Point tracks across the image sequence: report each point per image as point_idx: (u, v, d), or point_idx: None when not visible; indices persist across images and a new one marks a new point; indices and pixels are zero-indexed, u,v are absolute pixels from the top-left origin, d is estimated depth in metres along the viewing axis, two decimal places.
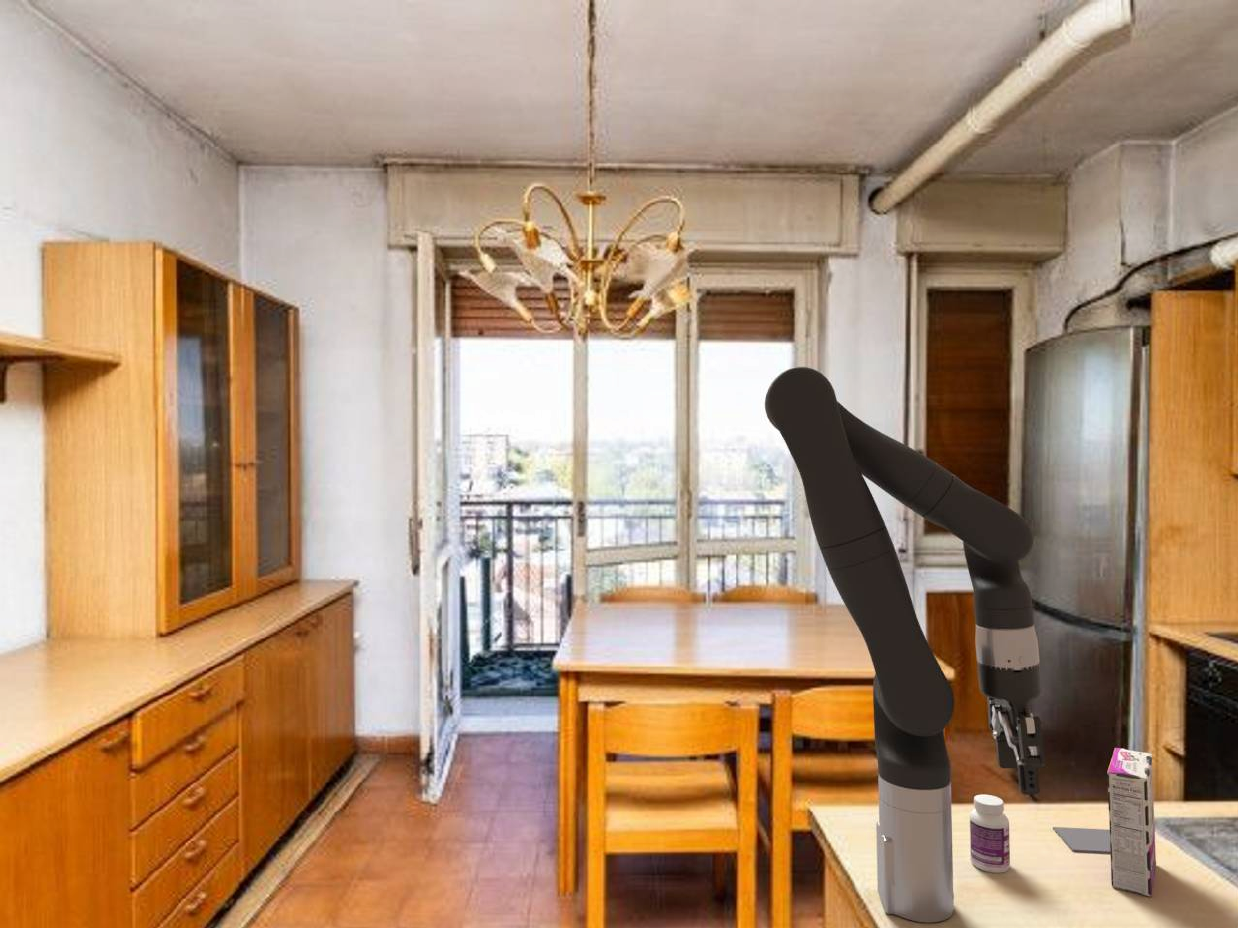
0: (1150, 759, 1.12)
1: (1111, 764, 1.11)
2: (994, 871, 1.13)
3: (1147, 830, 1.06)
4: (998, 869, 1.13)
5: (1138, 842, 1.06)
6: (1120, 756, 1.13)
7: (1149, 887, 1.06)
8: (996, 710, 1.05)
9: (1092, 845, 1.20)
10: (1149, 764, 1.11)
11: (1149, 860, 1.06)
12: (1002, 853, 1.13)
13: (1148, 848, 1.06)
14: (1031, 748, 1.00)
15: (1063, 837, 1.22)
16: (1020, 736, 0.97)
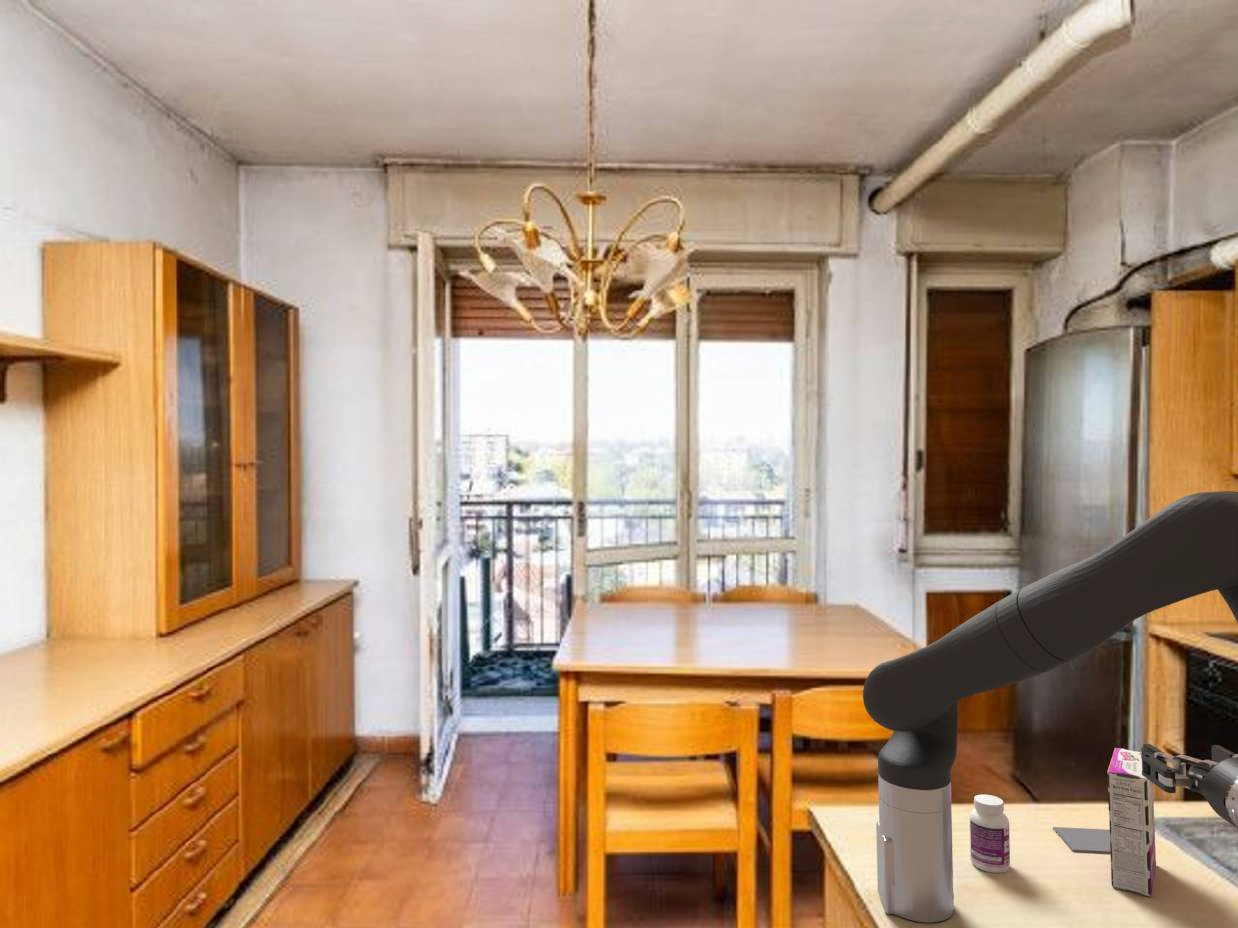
0: None
1: (1111, 764, 1.11)
2: (994, 871, 1.13)
3: (1147, 830, 1.06)
4: (998, 869, 1.13)
5: (1138, 842, 1.06)
6: (1120, 756, 1.13)
7: (1149, 887, 1.06)
8: None
9: (1092, 845, 1.20)
10: None
11: (1149, 860, 1.06)
12: (1002, 854, 1.13)
13: (1148, 848, 1.06)
14: None
15: (1063, 837, 1.22)
16: (1159, 764, 0.92)
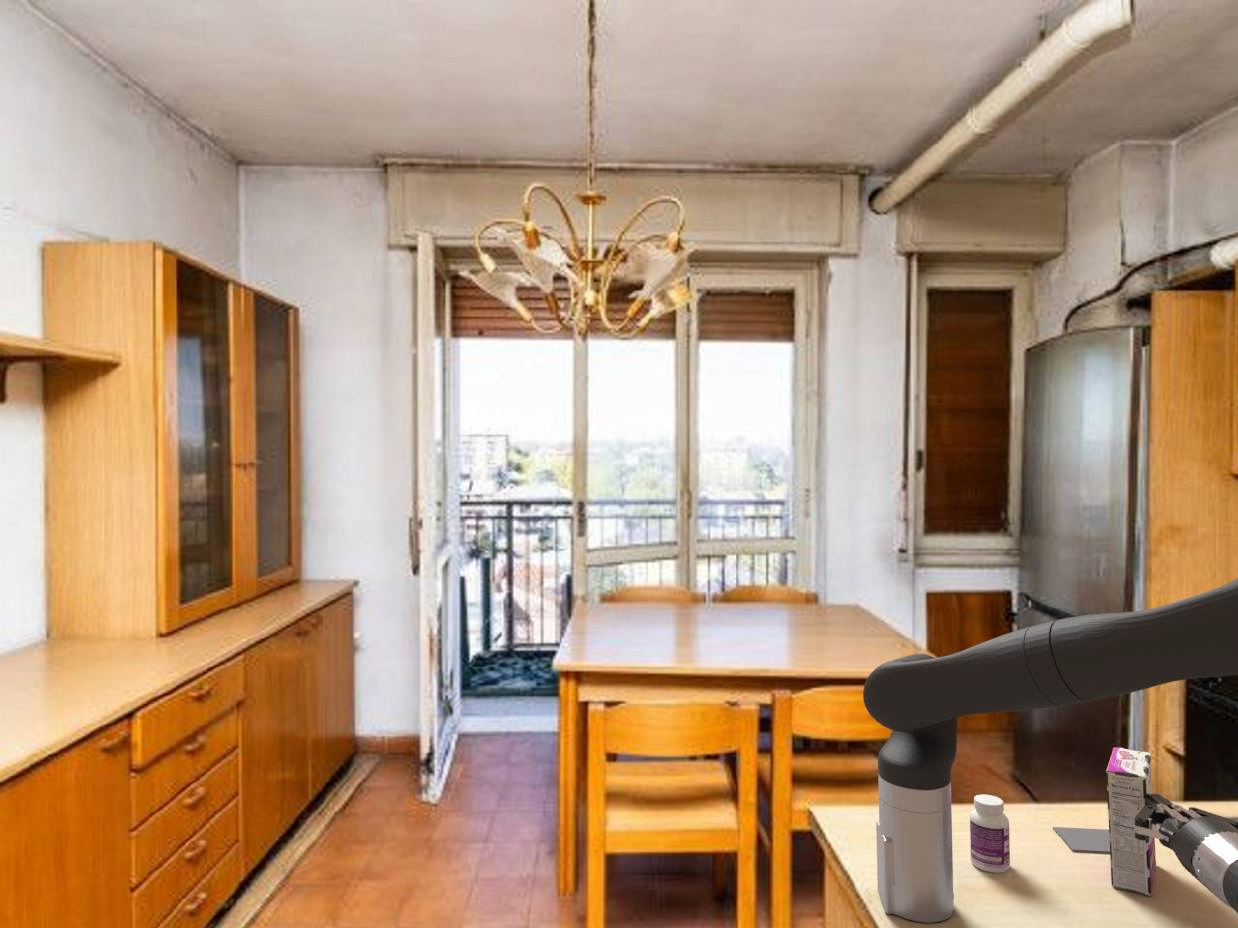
0: (1149, 758, 1.13)
1: (1110, 763, 1.11)
2: (994, 871, 1.13)
3: None
4: (998, 869, 1.13)
5: (1137, 841, 1.06)
6: (1119, 755, 1.13)
7: (1149, 886, 1.06)
8: None
9: (1092, 845, 1.20)
10: (1148, 763, 1.11)
11: (1149, 859, 1.06)
12: (1002, 854, 1.13)
13: (1147, 847, 1.06)
14: None
15: (1063, 837, 1.22)
16: (1142, 814, 0.99)
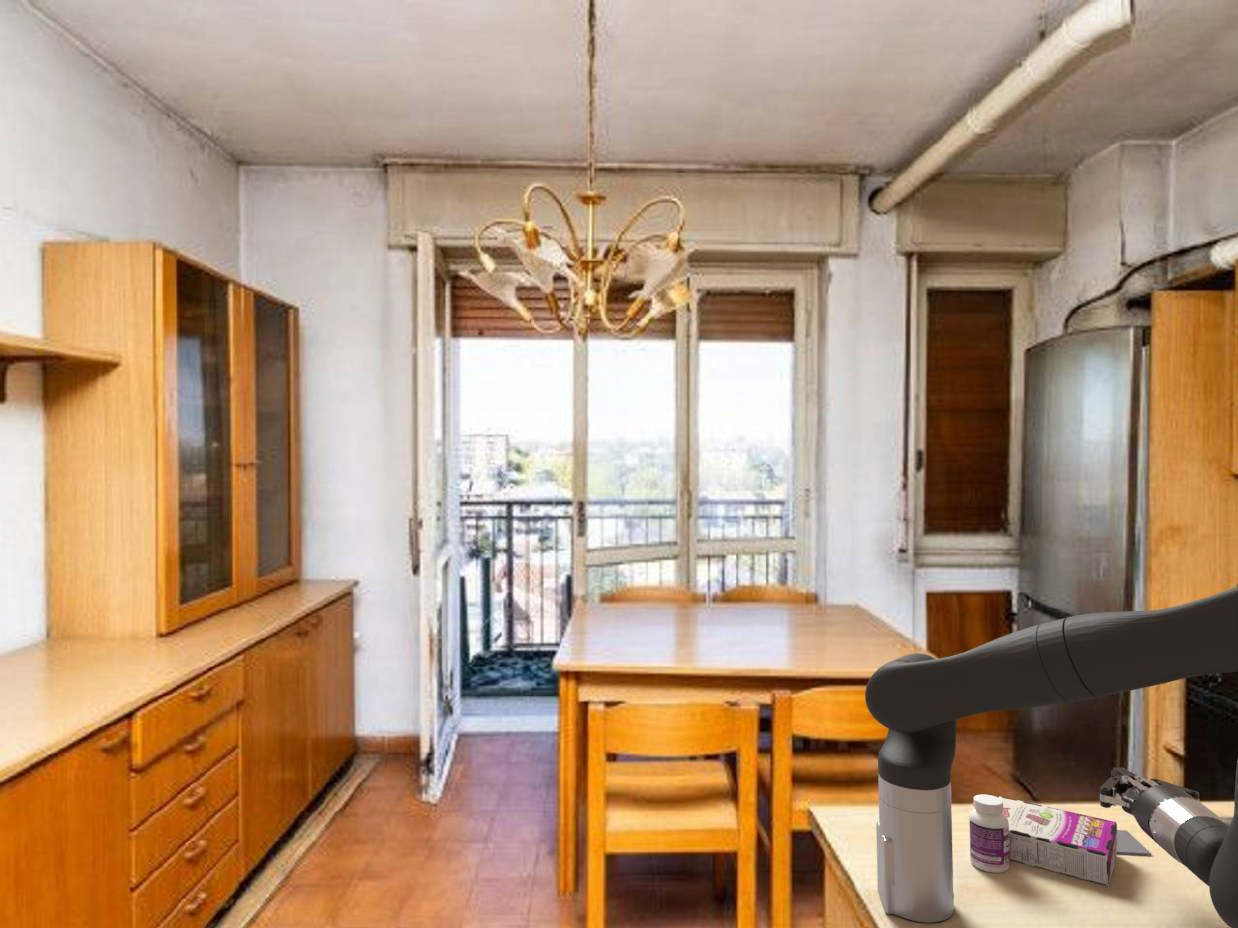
0: None
1: None
2: (994, 871, 1.13)
3: (1035, 837, 1.14)
4: (998, 869, 1.13)
5: (1050, 849, 1.13)
6: None
7: (1097, 852, 1.09)
8: None
9: None
10: None
11: (1067, 844, 1.12)
12: (1002, 853, 1.13)
13: (1054, 841, 1.13)
14: None
15: None
16: (1107, 784, 1.09)
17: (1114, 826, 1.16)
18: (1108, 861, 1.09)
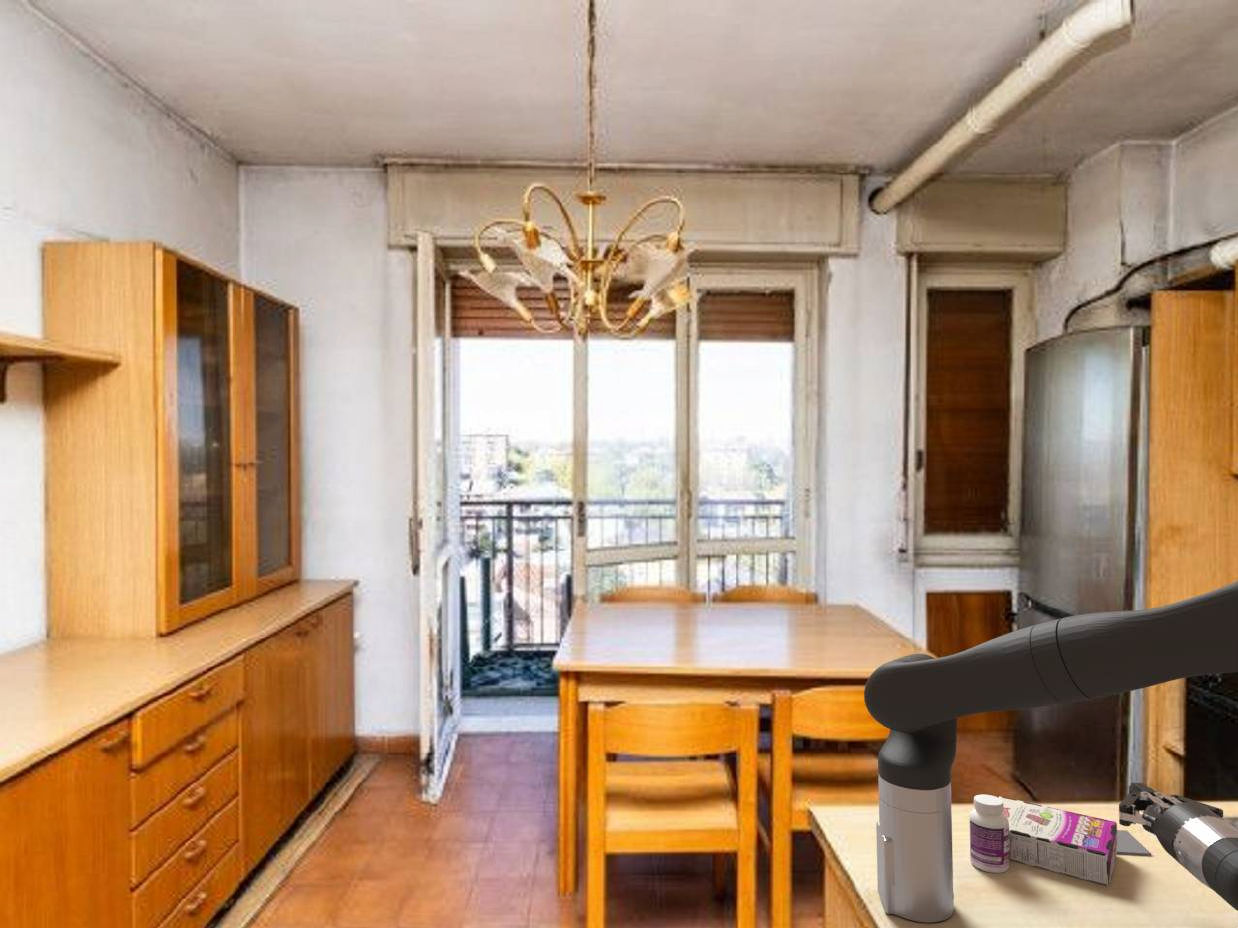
0: None
1: None
2: (994, 871, 1.13)
3: (1035, 837, 1.14)
4: (998, 869, 1.13)
5: (1050, 849, 1.13)
6: None
7: (1097, 852, 1.09)
8: None
9: None
10: None
11: (1067, 844, 1.12)
12: (1002, 854, 1.13)
13: (1054, 841, 1.13)
14: None
15: None
16: (1126, 801, 1.03)
17: (1114, 826, 1.16)
18: (1108, 861, 1.09)
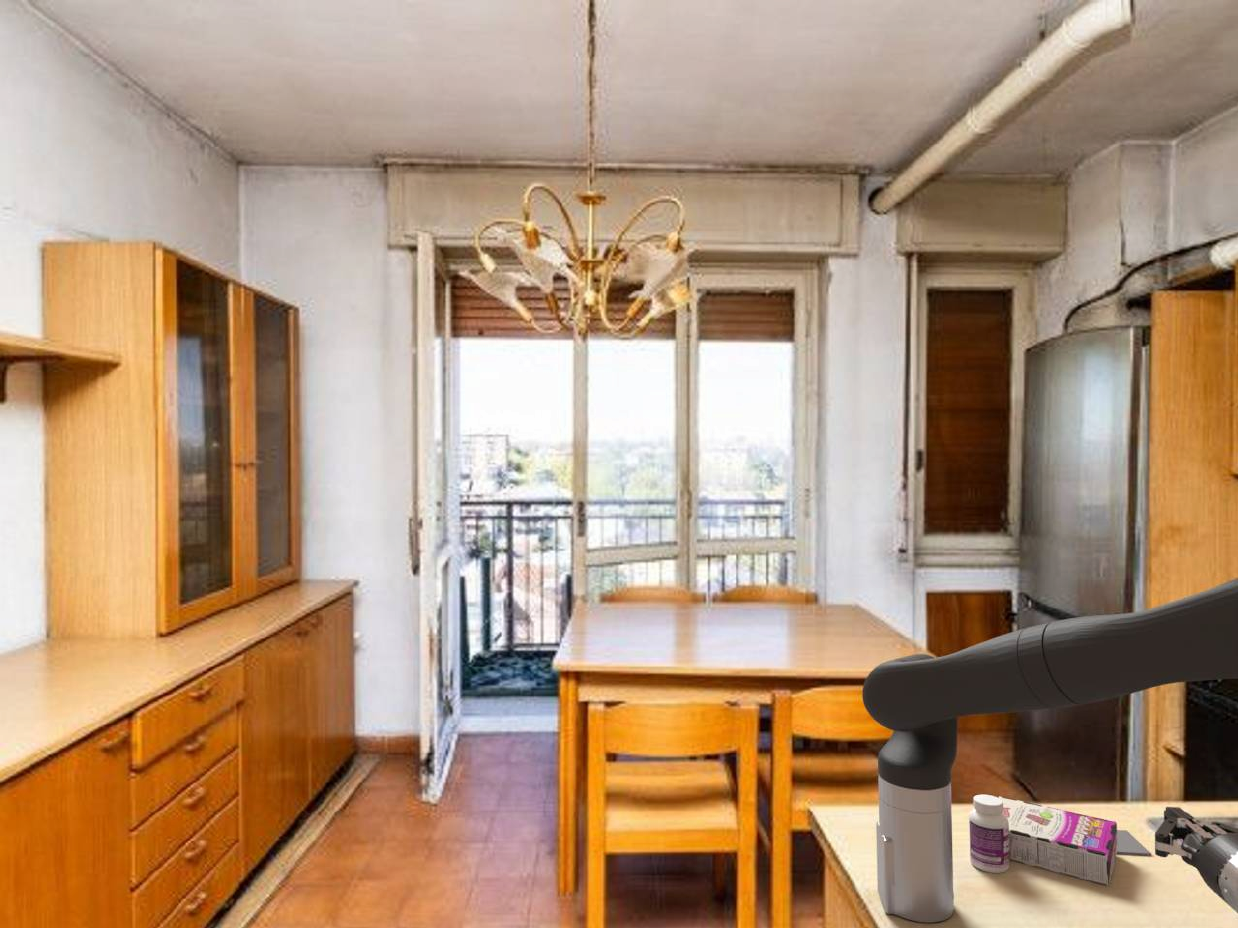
0: None
1: None
2: (994, 871, 1.13)
3: (1035, 837, 1.14)
4: (998, 869, 1.13)
5: (1050, 849, 1.13)
6: None
7: (1097, 852, 1.09)
8: None
9: None
10: None
11: (1067, 844, 1.12)
12: (1001, 854, 1.13)
13: (1054, 841, 1.13)
14: None
15: None
16: (1163, 829, 0.94)
17: (1114, 826, 1.16)
18: (1108, 861, 1.09)
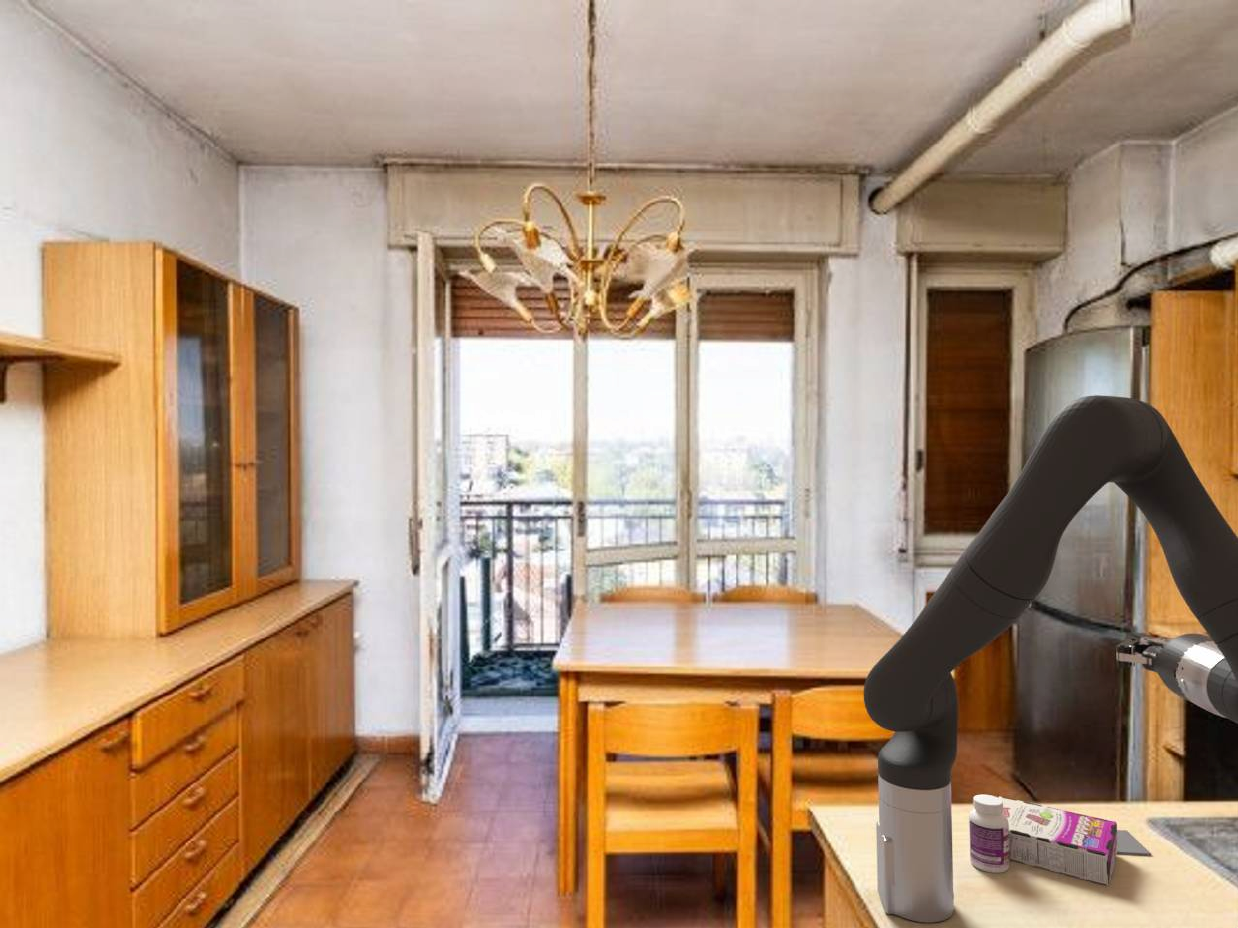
0: None
1: None
2: (994, 871, 1.13)
3: (1035, 837, 1.14)
4: (998, 869, 1.13)
5: (1050, 849, 1.13)
6: None
7: (1097, 852, 1.09)
8: None
9: None
10: None
11: (1067, 844, 1.12)
12: (1001, 853, 1.13)
13: (1054, 841, 1.13)
14: None
15: None
16: (1125, 643, 0.95)
17: (1114, 826, 1.16)
18: (1108, 861, 1.09)
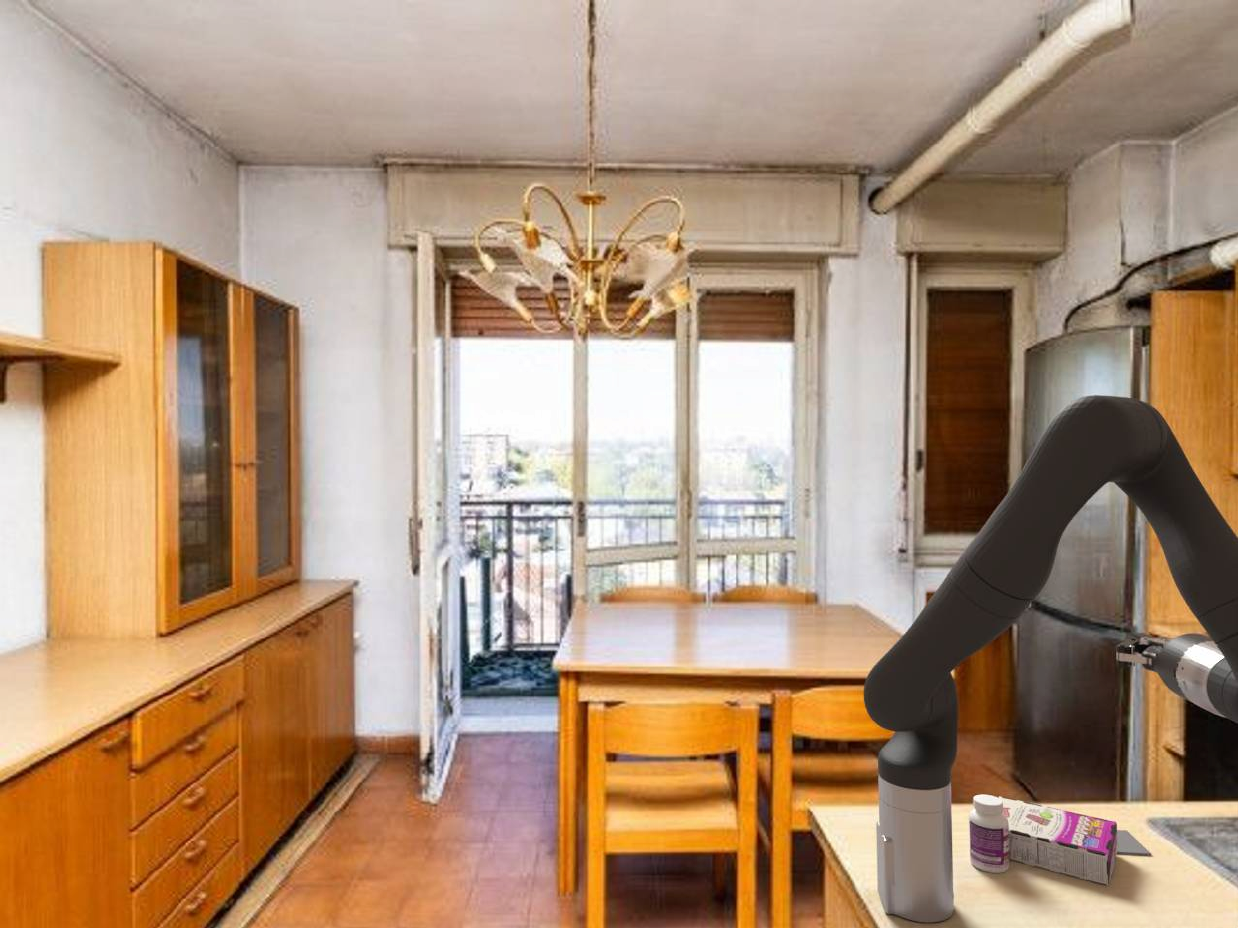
0: None
1: None
2: (994, 871, 1.13)
3: (1035, 837, 1.14)
4: (998, 869, 1.13)
5: (1050, 849, 1.13)
6: None
7: (1097, 852, 1.09)
8: None
9: None
10: None
11: (1067, 844, 1.12)
12: (1001, 854, 1.13)
13: (1054, 841, 1.13)
14: None
15: None
16: (1125, 643, 0.95)
17: (1114, 826, 1.16)
18: (1108, 861, 1.09)
